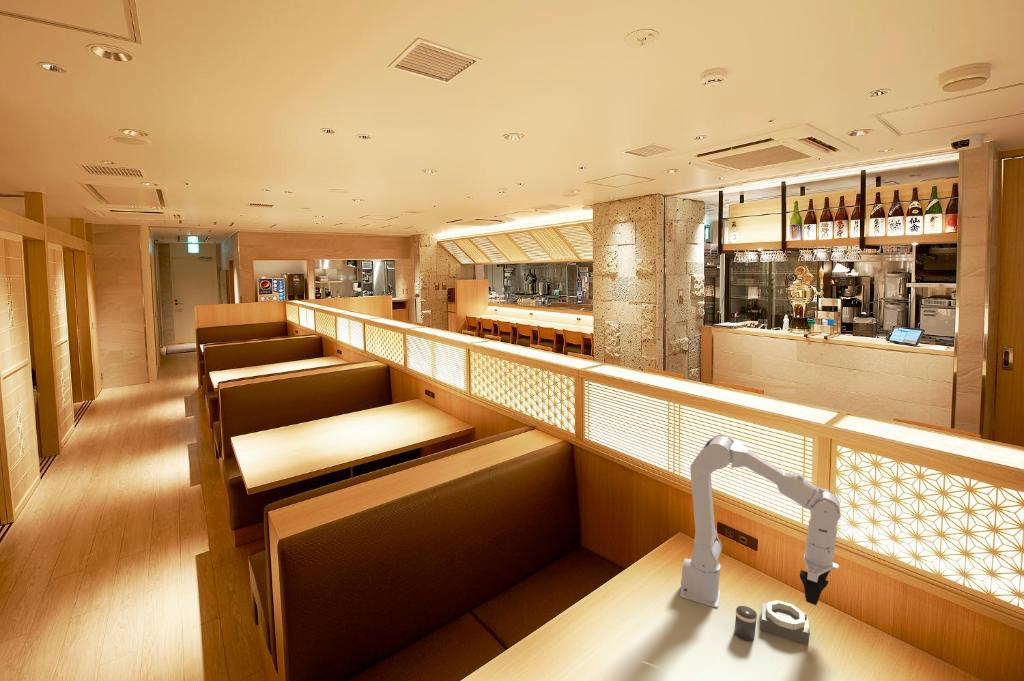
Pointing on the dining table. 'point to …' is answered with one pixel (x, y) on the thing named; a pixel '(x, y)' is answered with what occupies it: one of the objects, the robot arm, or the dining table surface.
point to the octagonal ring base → (785, 621)
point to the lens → (745, 623)
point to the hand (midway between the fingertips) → (814, 595)
